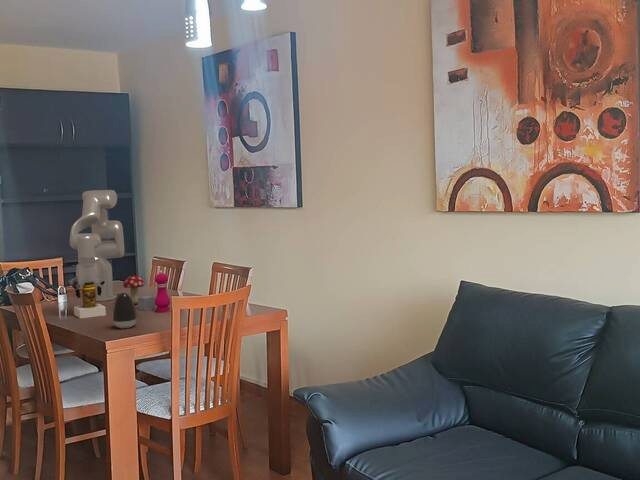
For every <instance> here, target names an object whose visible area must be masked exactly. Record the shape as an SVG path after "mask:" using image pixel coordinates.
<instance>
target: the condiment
mask: <svg viewBox="0 0 640 480" xmlns="http://www.w3.org/2000/svg"><path fill="white" fill-rule="evenodd" d="M94 286H95V285H94V282H91V283H84V285H82V289H81V291H82V302H83V303H82V305H83V306H82V305H80V306H81V307H77V308H93V307H97V306H99V305H96V304H97V301H96V288H95V287H94Z"/></svg>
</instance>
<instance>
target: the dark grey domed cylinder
mask: <svg viewBox="0 0 640 480" xmlns="http://www.w3.org/2000/svg"><path fill="white" fill-rule="evenodd" d="M116 295H117V296H116V299H115V301H114V305H113V308H112V309H113V310H112V318H111V319H112V322H113V324H114V326H115V327H117V328H119V329H129V328H132V327H134V325H135V324H136V322H137V318H138V315H137V311H136V310H137V309H136V308H135V305H134V304H133V301H132V299H131V295H129V294H128V293H127V292H121V293H119V292H118V293H117V294H116Z"/></svg>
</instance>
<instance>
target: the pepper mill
mask: <svg viewBox="0 0 640 480" xmlns="http://www.w3.org/2000/svg"><path fill="white" fill-rule="evenodd" d="M167 281H168V276H167V274H165V273H164V271H163V270H159V271H158V273H157V274H155V277H154V282H155V283H156V284H155V285H156V288H157V292H156V297H155V308H156V309H155V312H156V313H168V312H170V307H169V306H170V304H171V299H170V297H169V295H168V293H167V285H168V283H167Z"/></svg>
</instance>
